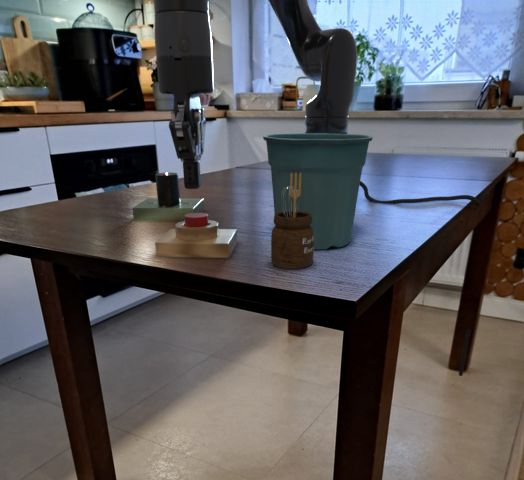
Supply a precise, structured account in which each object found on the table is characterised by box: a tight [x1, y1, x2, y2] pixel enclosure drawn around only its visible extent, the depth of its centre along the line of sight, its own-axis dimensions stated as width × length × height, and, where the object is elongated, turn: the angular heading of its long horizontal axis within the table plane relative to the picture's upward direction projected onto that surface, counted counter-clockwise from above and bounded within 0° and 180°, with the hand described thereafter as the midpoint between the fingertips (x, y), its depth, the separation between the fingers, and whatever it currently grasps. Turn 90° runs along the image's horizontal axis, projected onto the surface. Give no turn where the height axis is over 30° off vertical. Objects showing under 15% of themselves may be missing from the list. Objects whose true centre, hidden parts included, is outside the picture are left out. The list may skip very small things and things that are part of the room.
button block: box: [154, 219, 238, 259], centre depth 80 cm, size 11×9×4 cm
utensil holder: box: [270, 173, 315, 271], centre depth 71 cm, size 6×6×12 cm
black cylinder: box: [154, 171, 181, 205], centre depth 102 cm, size 4×4×6 cm
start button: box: [184, 212, 209, 227], centre depth 79 cm, size 4×4×2 cm
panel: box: [131, 197, 205, 222], centre depth 104 cm, size 12×10×3 cm
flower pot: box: [262, 132, 374, 250], centre depth 81 cm, size 16×16×16 cm
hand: (192, 188), depth 77 cm, fingers closed
